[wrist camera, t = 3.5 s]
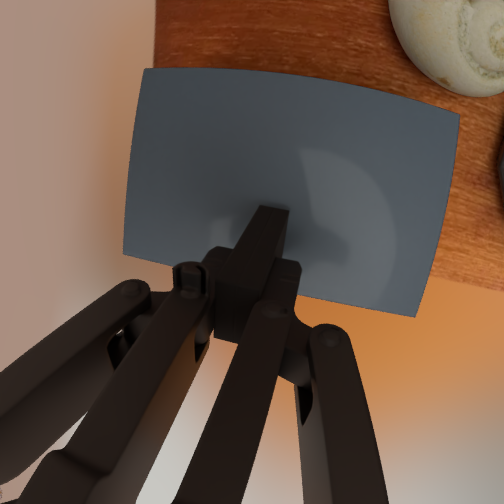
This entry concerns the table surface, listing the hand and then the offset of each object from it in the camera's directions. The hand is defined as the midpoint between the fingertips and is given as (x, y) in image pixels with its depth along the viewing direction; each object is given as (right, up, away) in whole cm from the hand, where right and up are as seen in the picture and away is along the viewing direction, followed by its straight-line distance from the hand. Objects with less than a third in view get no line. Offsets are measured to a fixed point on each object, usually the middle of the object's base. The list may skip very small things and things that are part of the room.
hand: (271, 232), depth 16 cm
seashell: (+14, +17, +1) cm, 22 cm away
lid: (+1, +3, +1) cm, 3 cm away
